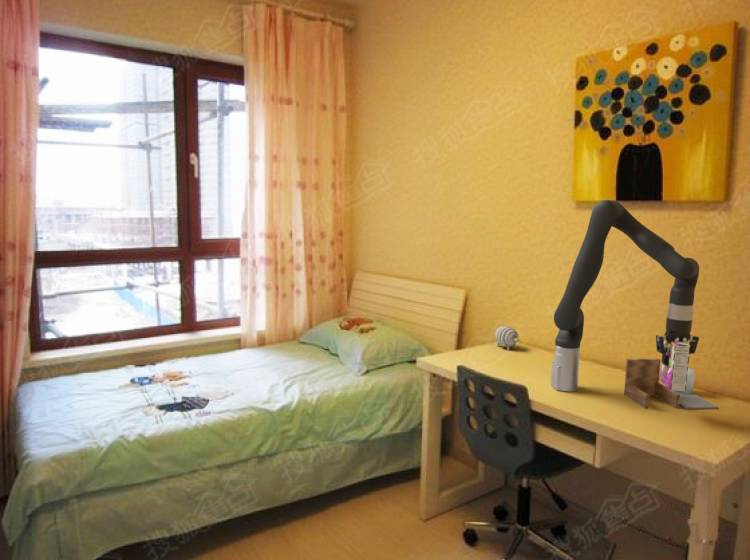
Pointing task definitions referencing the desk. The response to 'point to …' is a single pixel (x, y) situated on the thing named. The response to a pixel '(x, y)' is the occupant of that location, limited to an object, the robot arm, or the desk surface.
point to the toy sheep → (506, 337)
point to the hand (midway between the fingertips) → (674, 365)
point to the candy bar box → (676, 367)
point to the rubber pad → (695, 402)
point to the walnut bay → (647, 383)
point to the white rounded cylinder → (689, 382)
